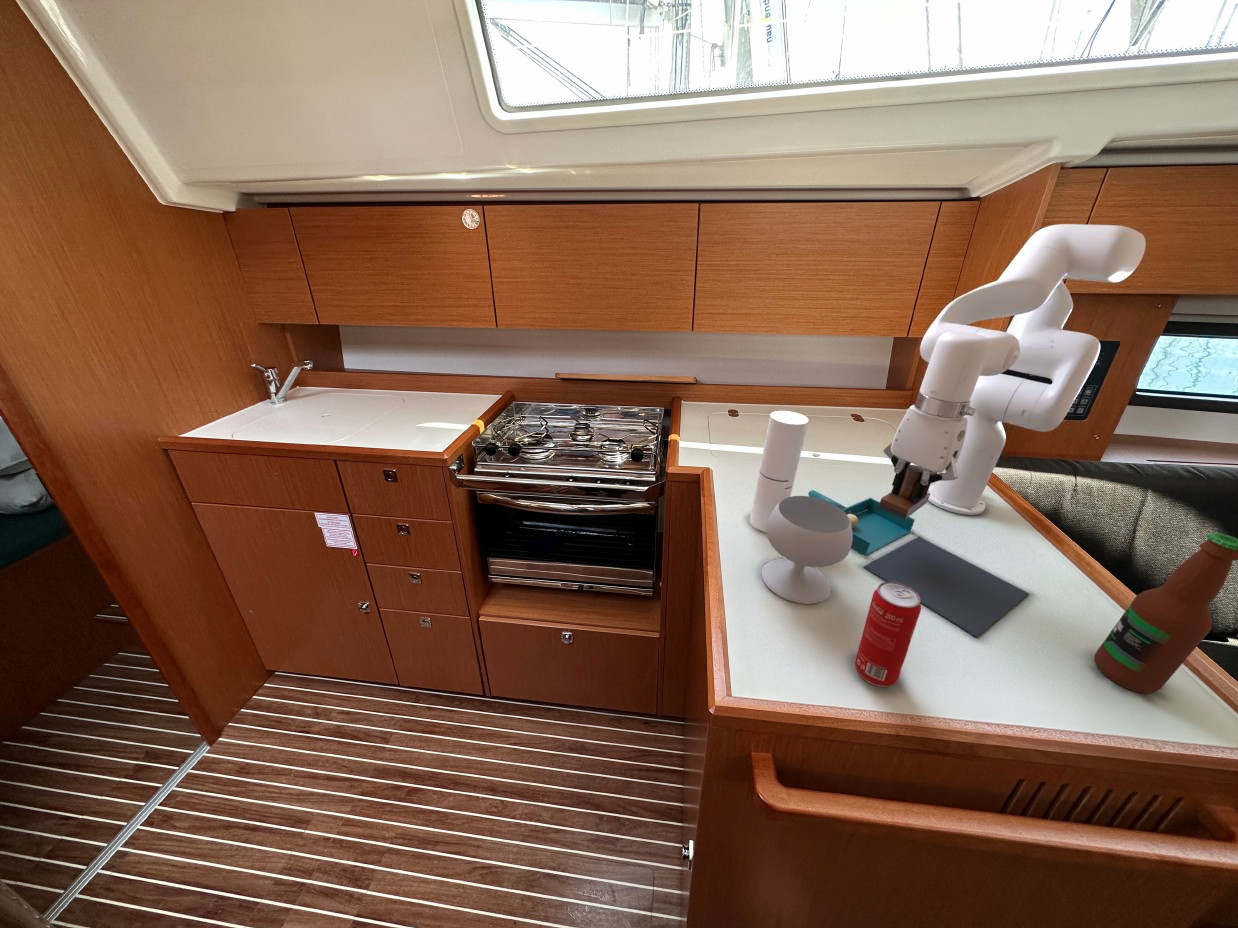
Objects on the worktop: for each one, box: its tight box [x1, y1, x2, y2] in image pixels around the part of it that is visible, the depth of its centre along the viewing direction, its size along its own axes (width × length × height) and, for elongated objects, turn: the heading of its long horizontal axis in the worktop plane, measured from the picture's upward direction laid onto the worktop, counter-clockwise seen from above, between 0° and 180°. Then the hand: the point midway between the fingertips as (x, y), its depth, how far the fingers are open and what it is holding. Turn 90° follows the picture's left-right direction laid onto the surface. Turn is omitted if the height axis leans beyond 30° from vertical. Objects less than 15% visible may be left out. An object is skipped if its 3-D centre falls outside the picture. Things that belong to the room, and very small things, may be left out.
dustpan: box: [807, 489, 916, 557], centre depth 105 cm, size 20×17×3 cm
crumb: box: [847, 514, 858, 528], centre depth 102 cm, size 3×3×3 cm
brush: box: [878, 464, 930, 520], centre depth 90 cm, size 10×5×8 cm, turn 129°
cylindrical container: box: [749, 410, 809, 533], centre depth 98 cm, size 7×7×25 cm
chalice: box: [761, 495, 853, 604], centre depth 83 cm, size 14×14×15 cm
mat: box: [862, 536, 1030, 639], centre depth 88 cm, size 20×20×1 cm
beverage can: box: [854, 581, 922, 688], centre depth 66 cm, size 6×6×15 cm
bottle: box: [1093, 532, 1238, 694], centre depth 65 cm, size 7×7×25 cm
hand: (906, 494), depth 90 cm, fingers closed on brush, 3 cm apart
